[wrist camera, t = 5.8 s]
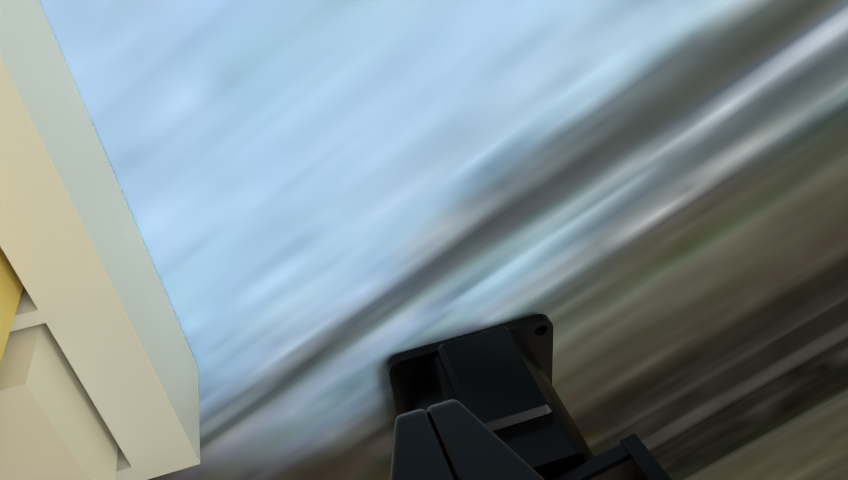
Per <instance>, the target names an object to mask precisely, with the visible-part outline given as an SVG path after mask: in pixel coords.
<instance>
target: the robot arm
mask: <svg viewBox="0 0 848 480" xmlns="http://www.w3.org/2000/svg"><path fill="white" fill-rule="evenodd" d="M540 326H541V327H540ZM538 327H539V328H538ZM552 354H553V325H552V323H551V321H550V320H549V318H548V317H547V316H546V315H544V314H537V315H533V316H530V317H526V318H522V319H519V320H515V321H512V322H508V323H505V324H501V325H498V326H494V327H490V328H487V329H483V330H480V331H476V332H473V333H469V334H466V335H462V336H458V337H455V338H451V339H448V340H444V341H441V342H437V343H434V344H430V345H426V346H423V347H419V348H416V349H412V350H409V351H405V352H402V353H398V354H396V355H393V356H392V357H391V358H390V359H389V360H388V362H387V371H388V376H389V382H390V387H391V392H392V398H393V403H394V408H395V413H396V420H395V427H394V439H393V451H392V463H391V474H390V480H671V478H670V477H669V476H668V475H667V473H666V472H665V471H664V470H663V468H662V467H661V466H660V464H659V463H658V462H657V461H656V459H655V458H654V457H653V456H652V454H651V453H650V452H649V451H648V449H647V448H646V447H645V445H644V444H643V443H642V442H641V440H640V439H639V438H638V437H637V435H636V434H635V433H634V434H632V435H630V436H628V437H626V438H624V439H622V440H620V443H621V444H619V445H617V446H615V447H613V448H611V449H609V450H607V451H605V452H603V453H601V454H599V455H597V456H595V457H594V455H593V454H592V452H591V450H590V449H589V447H588V445H587V443H586V442H585V440H584V438H583V437H582V435H581V433H580V432H579V430H578V428H577V427H576V425H575V423H574V421H573V420H572V418H571V416H570V415H569V413H568V411H567V410H566V408H565V406H564V405H563V403H562V401H561V400H560V398H559V396H558V394H557V393H556V391H555V389H554V388H553V386H552ZM403 365H404V366H403ZM400 366H403V367H401V368H398V367H400Z"/></svg>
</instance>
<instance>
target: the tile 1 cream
mask: <svg viewBox="0 0 848 480" xmlns="http://www.w3.org/2000/svg"><path fill="white" fill-rule="evenodd" d="M117 456H118V443H117V442H116V440H115V438H114V437H113V435H112V433H111V431H110V430H109V428H108V426H107V425H106V423H105V421H104V420H103V418H102V416H101V415H100V413H99V411H98V410H97V408H96V406H95V405H94V403H93V401H92V400H91V398H90V396H89V395H88V393H87V391H86V389H85V388H84V386H83V384H82V383H81V381H80V379H79V378H78V376H77V374H76V373H75V371H74V369H73V368H72V366H71V364H70V363H69V361H68V359H67V358H66V356H65V354H64V352H63V351H62V349H61V347H60V346H59V344H58V342H57V341H56V339H55V337H54V336H53V334H52V332H51V331H50V329H49V327H48V326H47V324H46V323H43V324H39V325H35V326H31V327H27V328H23V329H19V330H15V331H11V332H10V333H9V336H8V340H7V343H6V346H5V349H4V353H3V356H2V359H1V363H0V480H115V477H116V466H117Z"/></svg>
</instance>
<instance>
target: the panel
mask: <svg viewBox="0 0 848 480" xmlns="http://www.w3.org/2000/svg"><path fill="white" fill-rule="evenodd" d="M0 247H1V248H2V250H3V252H4V253H5V255H6V257H7V258H8V260H9V262H10V263H11V265H12V267H13V268H14V270H15V272H16V273H17V275H18V277H19V279H20V280H21V282H22V284H23V285H24V287H23V290H22V293H21V297H20V300H19V303H18V307H17V310H16V313H15V317H14V320H13V323H12V326H11V330H10V332H11V331H15V330H19V329H23V328H27V327H31V326H35V325H39V324H43V323H46V324H47V326H48V327H49V329H50V331H51V332H52V334H53V336H54V337H55V339H56V341H57V342H58V344H59V346H60V347H61V349H62V351H63V352H64V354H65V356H66V358H67V359H68V361H69V363H70V364H71V366H72V368H73V369H74V371H75V373H76V374H77V376H78V378H79V379H80V381H81V383H82V384H83V386H84V388H85V389H86V391H87V393H88V395H89V396H90V398H91V400H92V401H93V403H94V405H95V406H96V408H97V410H98V411H99V413H100V415H101V416H102V418H103V420H104V421H105V423H106V425H107V426H108V428H109V430H110V431H111V433H112V435H113V437H114V438H115V440H116V442H117V443H118V456H117V466H116V477H115V480H148V479H151V478H154V477H158V476H161V475H165V474H168V473H171V472H175V471H178V470H182V469H185V468H188V467H192V466H195V465H199V464H200V432H199V391H198V367H197V364H196V362H195V360H194V357H193V355H192V353H191V350H190V348H189V346H188V343H187V341H186V339H185V336H184V334H183V332H182V330H181V327H180V325H179V323H178V320H177V318H176V316H175V313H174V311H173V309H172V306H171V304H170V302H169V300H168V297H167V295H166V293H165V290H164V288H163V286H162V283H161V281H160V279H159V276H158V274H157V272H156V269H155V267H154V265H153V263H152V260H151V258H150V256H149V253H148V251H147V249H146V246H145V244H144V242H143V239H142V237H141V235H140V233H139V230H138V228H137V226H136V223H135V221H134V219H133V216H132V214H131V212H130V209H129V207H128V205H127V202H126V200H125V198H124V196H123V193H122V191H121V189H120V186H119V184H118V182H117V179H116V177H115V175H114V172H113V170H112V168H111V165H110V163H109V161H108V159H107V156H106V154H105V152H104V149H103V147H102V145H101V142H100V140H99V138H98V135H97V133H96V131H95V129H94V126H93V124H92V122H91V119H90V117H89V115H88V112H87V110H86V108H85V105H84V103H83V101H82V98H81V96H80V94H79V92H78V89H77V87H76V85H75V82H74V80H73V78H72V75H71V73H70V71H69V68H68V66H67V64H66V62H65V59H64V57H63V55H62V52H61V50H60V48H59V45H58V43H57V41H56V38H55V36H54V34H53V31H52V29H51V27H50V25H49V22H48V20H47V18H46V15H45V13H44V11H43V8H42V6H41V4H40V1H39V0H0Z"/></svg>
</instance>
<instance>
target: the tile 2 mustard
mask: <svg viewBox="0 0 848 480" xmlns="http://www.w3.org/2000/svg"><path fill="white" fill-rule="evenodd" d="M23 287H24V285H23V284H22V282H21V280H20V279H19V277H18V275H17V273H16V272H15V270H14V268H13V267H12V265H11V263H10V262H9V260H8V258H7V257H6V255H5V253H4V252H3V250H2V248H1V247H0V363H1V359H2V356H3V353H4V349H5V346H6V343H7V340H8V336H9V333H10V330H11V326H12V323H13V320H14V317H15V313H16V310H17V307H18V303H19V300H20V297H21V293H22V290H23Z"/></svg>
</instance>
